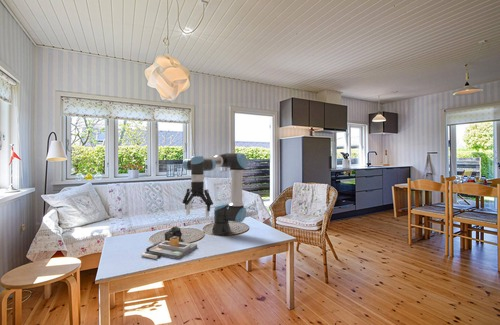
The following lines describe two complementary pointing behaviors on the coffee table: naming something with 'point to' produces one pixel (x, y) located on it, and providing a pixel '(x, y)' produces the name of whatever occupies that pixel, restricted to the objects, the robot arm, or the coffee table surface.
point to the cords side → (152, 246)
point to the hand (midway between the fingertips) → (197, 215)
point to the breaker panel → (173, 249)
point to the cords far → (150, 255)
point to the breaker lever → (174, 241)
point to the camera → (173, 233)
